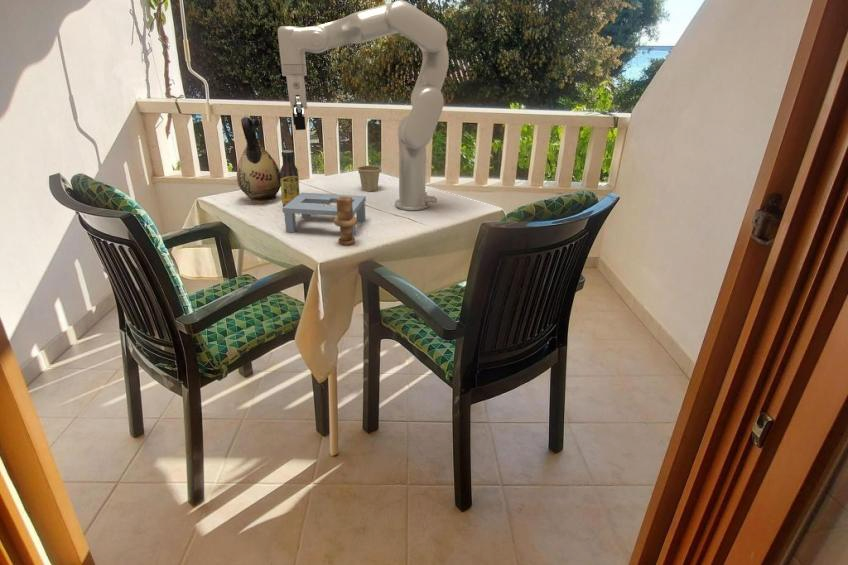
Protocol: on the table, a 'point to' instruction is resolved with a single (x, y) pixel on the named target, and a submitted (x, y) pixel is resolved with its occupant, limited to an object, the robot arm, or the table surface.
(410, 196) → the robot arm
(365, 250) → the table surface
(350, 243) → the walnut peg
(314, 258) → the table surface
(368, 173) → the flower pot
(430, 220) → the table surface
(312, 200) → the stand
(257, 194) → the ceramic jug
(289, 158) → the sauce bottle
